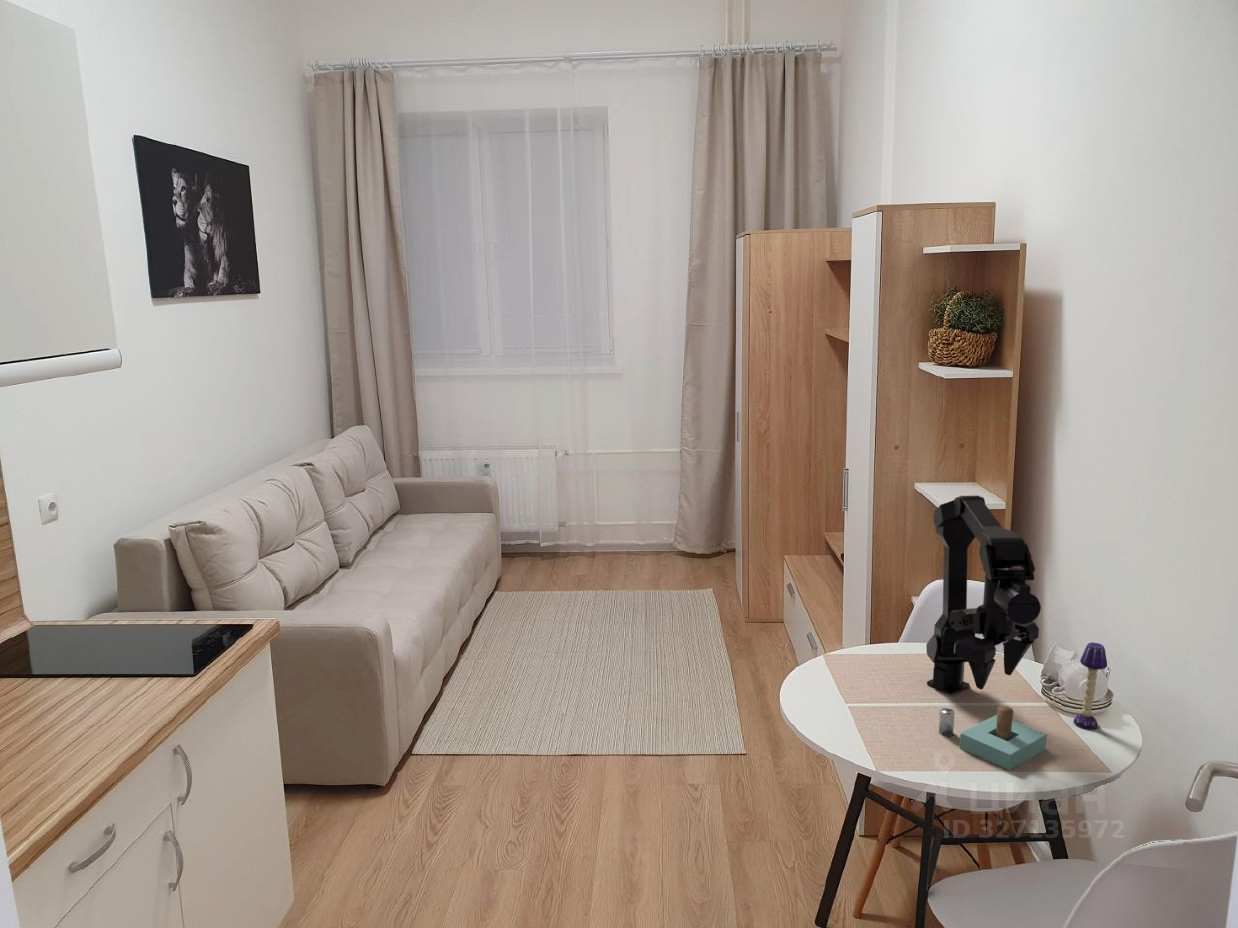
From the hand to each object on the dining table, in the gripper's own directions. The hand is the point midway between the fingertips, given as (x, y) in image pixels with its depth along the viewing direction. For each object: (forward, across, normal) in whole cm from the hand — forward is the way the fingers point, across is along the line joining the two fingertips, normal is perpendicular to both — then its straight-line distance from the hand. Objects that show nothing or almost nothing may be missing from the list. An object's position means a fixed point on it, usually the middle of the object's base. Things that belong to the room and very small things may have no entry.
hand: (993, 681), depth 175 cm
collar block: (+12, +1, +3) cm, 13 cm away
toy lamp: (+12, -20, +8) cm, 25 cm away
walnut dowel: (+12, +1, +3) cm, 13 cm away
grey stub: (+12, +4, -7) cm, 14 cm away
